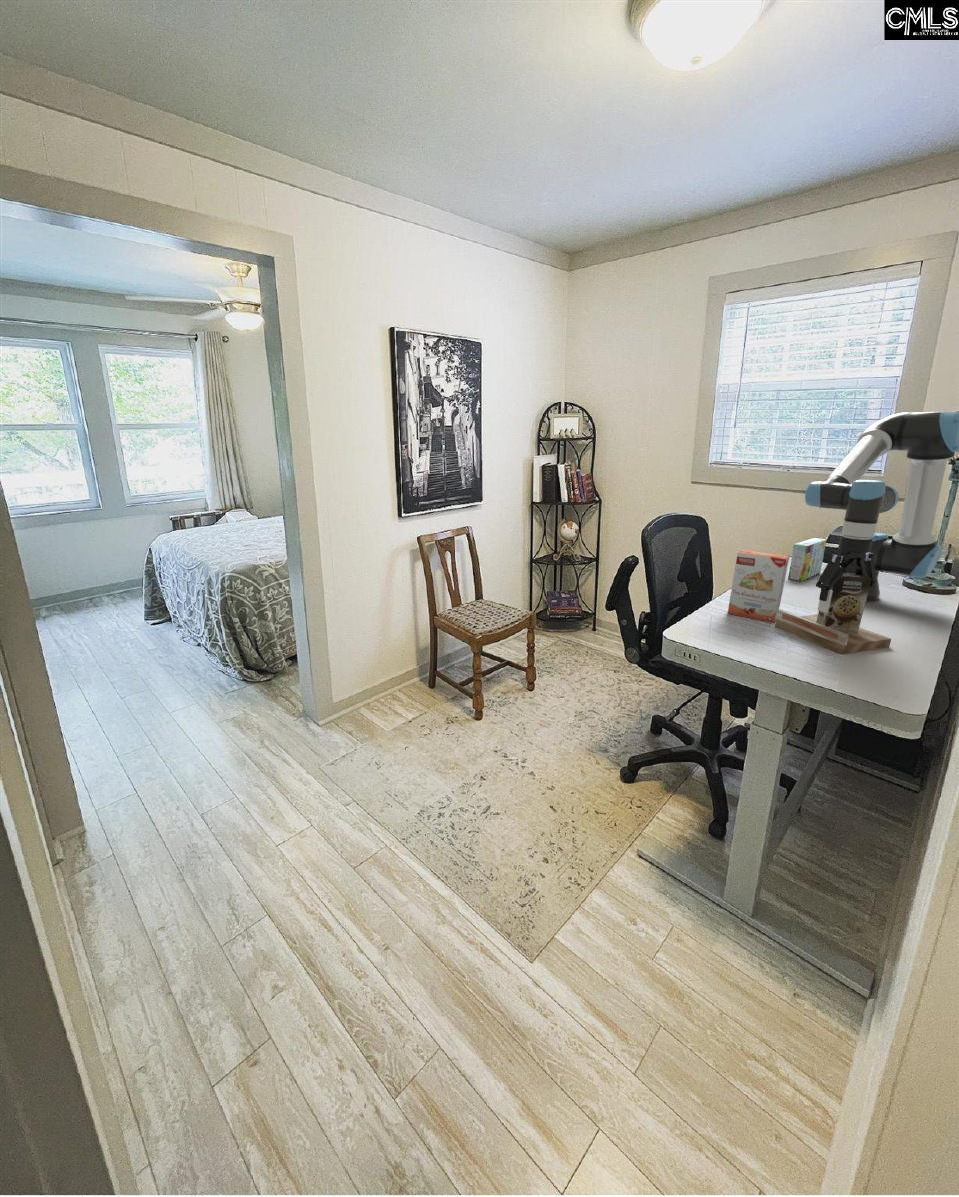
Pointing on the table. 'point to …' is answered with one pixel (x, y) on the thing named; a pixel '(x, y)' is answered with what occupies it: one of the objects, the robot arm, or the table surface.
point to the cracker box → (758, 585)
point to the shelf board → (830, 634)
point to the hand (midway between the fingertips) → (840, 609)
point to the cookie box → (846, 603)
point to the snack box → (807, 559)
